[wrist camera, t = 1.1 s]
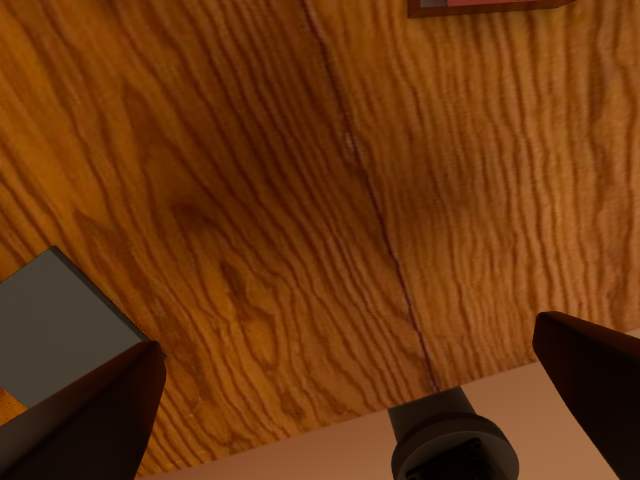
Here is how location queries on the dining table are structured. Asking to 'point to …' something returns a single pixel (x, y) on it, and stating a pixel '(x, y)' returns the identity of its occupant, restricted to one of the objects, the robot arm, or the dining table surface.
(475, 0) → the block
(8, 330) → the mat
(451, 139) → the dining table surface
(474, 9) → the dark brown bookend
